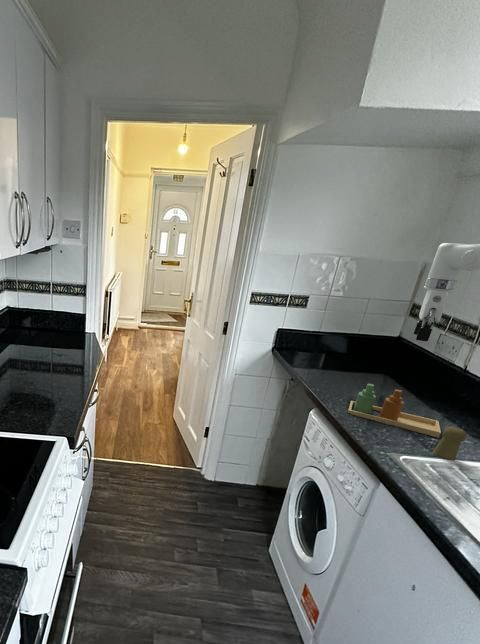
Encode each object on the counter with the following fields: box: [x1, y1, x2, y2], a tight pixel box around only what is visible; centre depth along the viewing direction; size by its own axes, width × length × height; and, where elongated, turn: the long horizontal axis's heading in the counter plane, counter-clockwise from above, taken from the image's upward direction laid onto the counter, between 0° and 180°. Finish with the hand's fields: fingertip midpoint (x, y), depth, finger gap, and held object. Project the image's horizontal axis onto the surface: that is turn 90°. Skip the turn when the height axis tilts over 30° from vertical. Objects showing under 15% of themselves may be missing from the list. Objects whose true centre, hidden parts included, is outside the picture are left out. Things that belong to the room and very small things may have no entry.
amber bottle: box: [378, 389, 405, 421], centre depth 149 cm, size 6×6×11 cm
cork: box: [430, 426, 467, 461], centre depth 123 cm, size 6×6×11 cm
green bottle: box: [352, 383, 377, 415], centre depth 153 cm, size 6×6×11 cm
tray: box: [347, 400, 442, 439], centre depth 151 cm, size 28×12×2 cm, turn 56°
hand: (420, 337), depth 137 cm, fingers open, 9 cm apart
